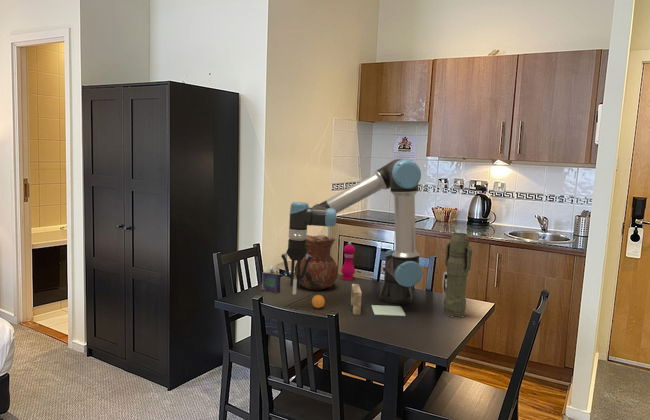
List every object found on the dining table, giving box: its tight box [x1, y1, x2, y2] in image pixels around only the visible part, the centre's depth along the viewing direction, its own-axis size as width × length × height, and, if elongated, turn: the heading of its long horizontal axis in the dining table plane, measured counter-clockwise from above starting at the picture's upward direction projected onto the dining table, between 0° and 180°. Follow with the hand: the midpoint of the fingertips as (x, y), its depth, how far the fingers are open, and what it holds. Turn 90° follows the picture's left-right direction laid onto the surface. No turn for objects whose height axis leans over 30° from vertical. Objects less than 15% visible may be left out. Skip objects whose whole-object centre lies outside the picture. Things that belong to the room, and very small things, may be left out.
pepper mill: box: [340, 241, 356, 282], centre depth 275 cm, size 7×7×20 cm
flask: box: [261, 268, 281, 294], centre depth 244 cm, size 9×3×11 cm, turn 71°
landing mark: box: [371, 304, 406, 317], centre depth 223 cm, size 13×13×1 cm
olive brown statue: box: [443, 232, 473, 318], centre depth 220 cm, size 9×12×35 cm
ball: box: [311, 294, 326, 309], centre depth 222 cm, size 6×6×6 cm
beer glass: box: [441, 271, 447, 306], centre depth 234 cm, size 7×7×15 cm
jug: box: [294, 234, 339, 291], centre depth 256 cm, size 22×21×25 cm
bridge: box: [350, 283, 363, 316], centre depth 223 cm, size 3×14×9 cm, turn 1°
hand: (294, 293), depth 222 cm, fingers closed
